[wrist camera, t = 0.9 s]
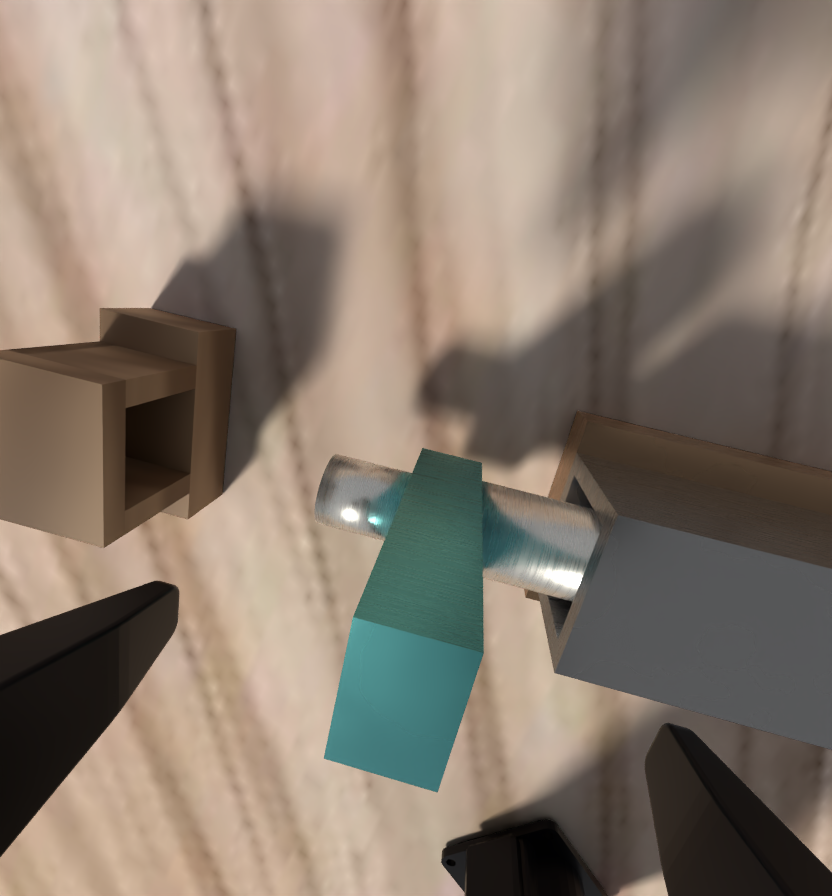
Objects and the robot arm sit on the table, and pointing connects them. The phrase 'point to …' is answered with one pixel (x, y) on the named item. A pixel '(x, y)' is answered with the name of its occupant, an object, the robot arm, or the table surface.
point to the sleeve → (699, 578)
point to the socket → (115, 425)
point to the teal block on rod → (433, 598)
